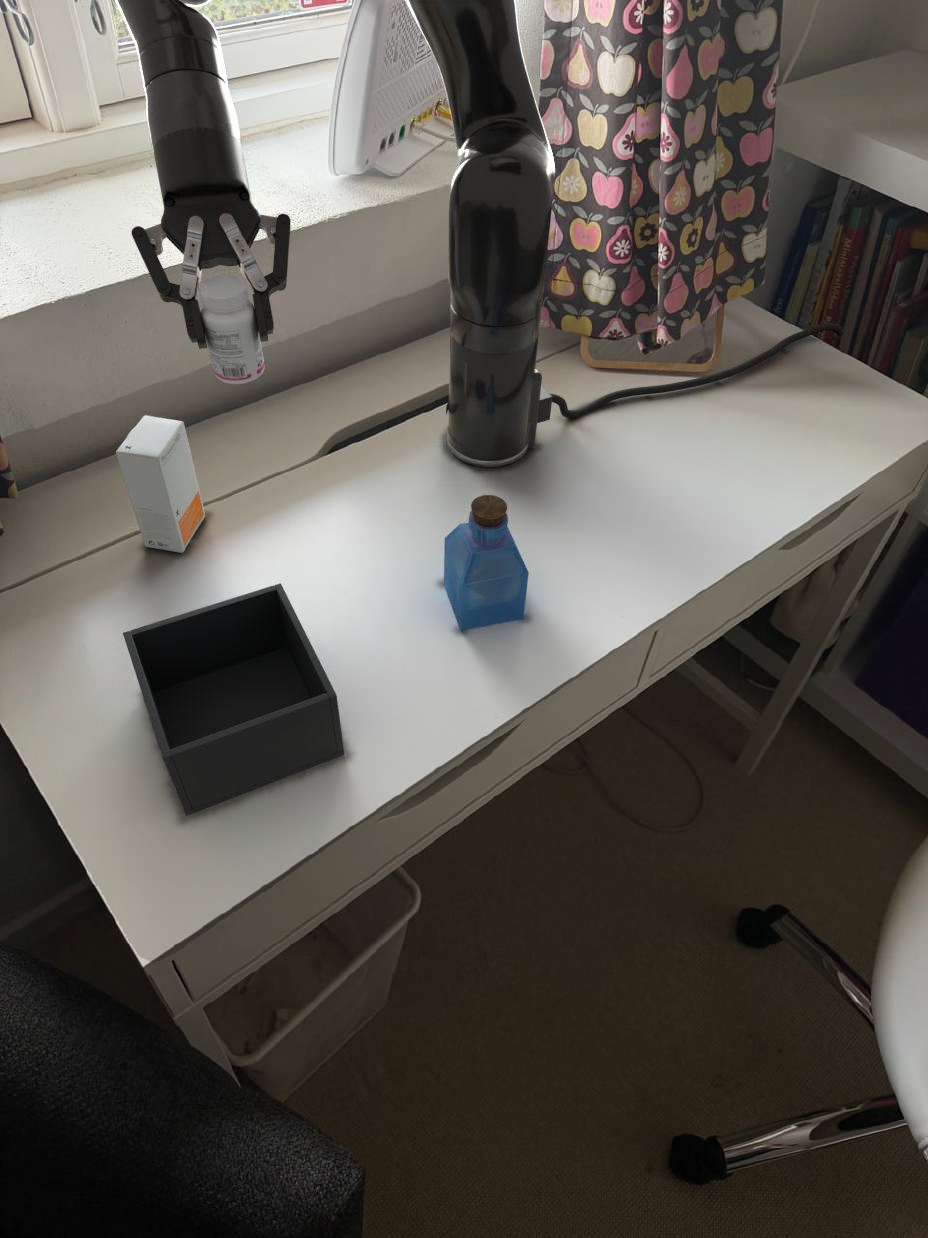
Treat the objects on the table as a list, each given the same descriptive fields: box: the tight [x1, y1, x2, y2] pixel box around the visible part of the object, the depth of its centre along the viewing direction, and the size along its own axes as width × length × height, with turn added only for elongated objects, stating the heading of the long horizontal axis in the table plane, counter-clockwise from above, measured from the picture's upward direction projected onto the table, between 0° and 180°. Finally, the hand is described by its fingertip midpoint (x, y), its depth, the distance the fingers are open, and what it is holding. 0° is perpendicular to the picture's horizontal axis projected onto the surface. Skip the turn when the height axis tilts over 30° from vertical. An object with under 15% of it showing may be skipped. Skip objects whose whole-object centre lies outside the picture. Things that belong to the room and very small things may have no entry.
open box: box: [122, 583, 345, 816], centre depth 72 cm, size 13×13×8 cm
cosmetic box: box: [115, 414, 206, 554], centre depth 86 cm, size 6×4×12 cm
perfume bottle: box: [443, 494, 530, 631], centre depth 81 cm, size 6×6×12 cm
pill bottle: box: [198, 274, 266, 385], centre depth 79 cm, size 5×5×8 cm
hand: (233, 341), depth 78 cm, fingers closed on pill bottle, 4 cm apart
